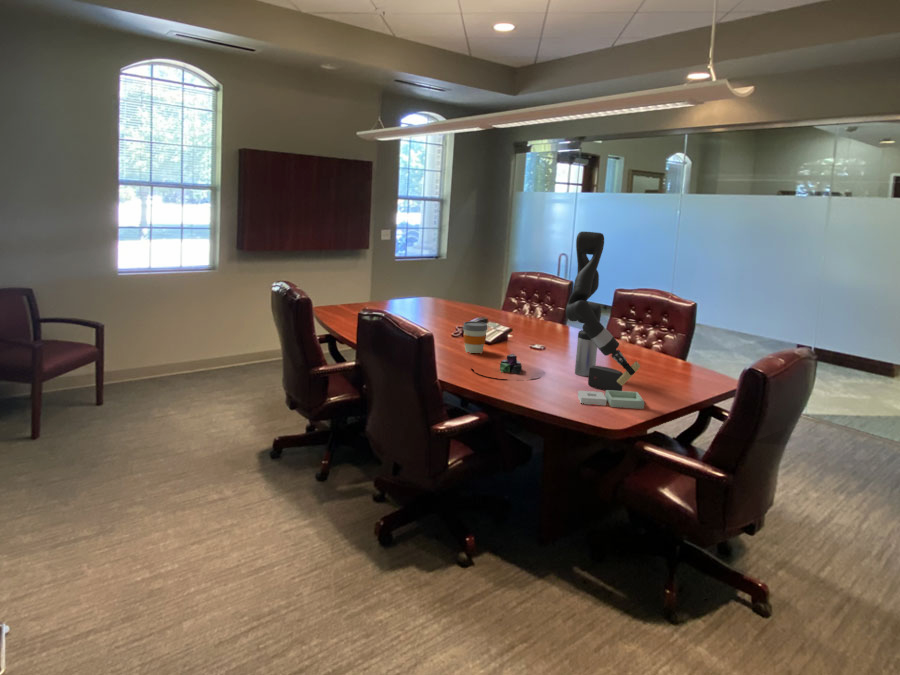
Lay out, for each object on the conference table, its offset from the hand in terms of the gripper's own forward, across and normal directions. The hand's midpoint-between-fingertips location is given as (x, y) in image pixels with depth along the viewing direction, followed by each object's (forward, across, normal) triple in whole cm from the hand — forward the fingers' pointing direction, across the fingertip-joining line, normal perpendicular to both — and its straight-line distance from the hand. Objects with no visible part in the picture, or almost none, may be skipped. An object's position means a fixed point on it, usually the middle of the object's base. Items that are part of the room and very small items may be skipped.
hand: (632, 372), depth 260 cm
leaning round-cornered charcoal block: (+4, +17, +14) cm, 23 cm away
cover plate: (-2, 0, +20) cm, 20 cm away
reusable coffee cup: (-37, +74, +55) cm, 99 cm away
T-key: (0, 0, +7) cm, 7 cm away
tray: (+8, 0, +10) cm, 13 cm away
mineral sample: (-24, +40, +44) cm, 64 cm away
